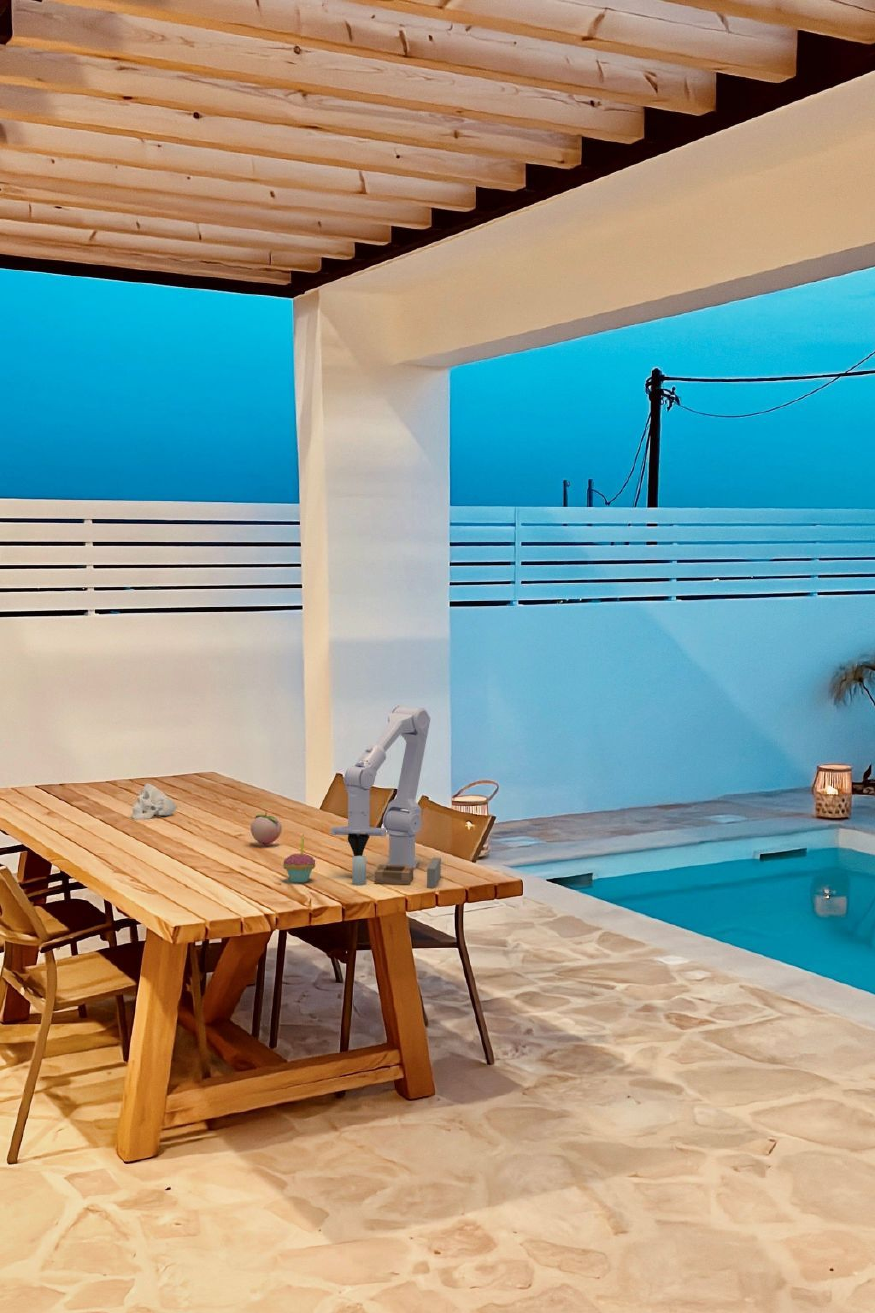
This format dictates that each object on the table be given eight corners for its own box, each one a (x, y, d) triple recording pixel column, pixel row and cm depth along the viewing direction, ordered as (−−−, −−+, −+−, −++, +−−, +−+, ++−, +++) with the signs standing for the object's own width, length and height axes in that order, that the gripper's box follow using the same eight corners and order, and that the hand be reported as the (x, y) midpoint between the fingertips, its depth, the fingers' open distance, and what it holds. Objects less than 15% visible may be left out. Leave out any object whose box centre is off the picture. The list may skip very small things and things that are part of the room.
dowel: (353, 882, 347) (353, 855, 346) (367, 882, 346) (367, 856, 346) (351, 885, 343) (351, 858, 343) (364, 885, 343) (365, 858, 342)
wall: (433, 876, 354) (433, 857, 354) (440, 876, 354) (440, 857, 354) (426, 887, 341) (427, 868, 340) (434, 888, 340) (434, 868, 340)
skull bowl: (120, 812, 440) (139, 780, 443) (154, 831, 447) (172, 799, 450) (132, 817, 431) (151, 783, 434) (166, 836, 438) (185, 803, 442)
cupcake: (292, 876, 353) (293, 831, 352) (321, 879, 350) (321, 833, 349) (277, 882, 345) (277, 837, 344) (306, 885, 342) (306, 839, 341)
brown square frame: (380, 875, 354) (380, 864, 353) (413, 877, 353) (413, 865, 352) (374, 883, 345) (374, 871, 344) (408, 884, 344) (409, 873, 343)
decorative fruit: (244, 846, 392) (244, 813, 391) (260, 842, 399) (260, 809, 399) (270, 849, 387) (270, 816, 387) (286, 845, 395) (286, 811, 394)
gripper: (329, 813, 348) (328, 864, 349) (383, 815, 346) (382, 866, 347) (334, 809, 355) (333, 859, 356) (387, 810, 353) (387, 861, 354)
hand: (358, 862), depth 352 cm, fingers closed
